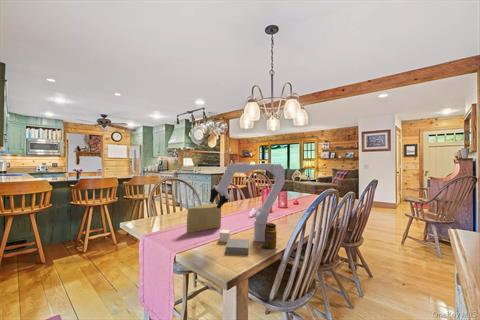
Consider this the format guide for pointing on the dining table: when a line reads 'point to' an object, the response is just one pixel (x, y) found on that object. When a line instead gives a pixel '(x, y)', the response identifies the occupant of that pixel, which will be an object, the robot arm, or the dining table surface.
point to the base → (237, 246)
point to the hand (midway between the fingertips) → (214, 204)
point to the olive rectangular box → (203, 218)
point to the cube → (224, 235)
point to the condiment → (270, 238)
